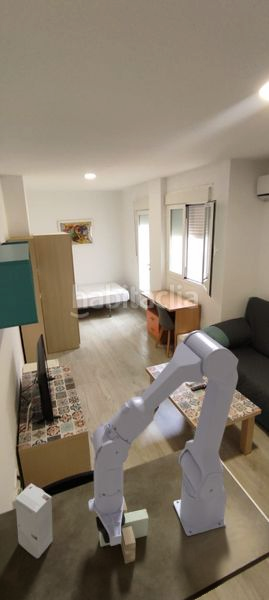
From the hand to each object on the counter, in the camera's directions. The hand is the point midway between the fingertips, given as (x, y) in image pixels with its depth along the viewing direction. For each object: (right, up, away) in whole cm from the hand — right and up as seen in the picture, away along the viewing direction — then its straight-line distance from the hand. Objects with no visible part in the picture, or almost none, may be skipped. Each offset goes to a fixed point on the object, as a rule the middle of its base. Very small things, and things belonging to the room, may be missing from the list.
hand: (108, 534), depth 61 cm
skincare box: (-15, -2, 0) cm, 15 cm away
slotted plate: (+3, -1, +1) cm, 4 cm away
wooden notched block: (+3, -2, +1) cm, 4 cm away
